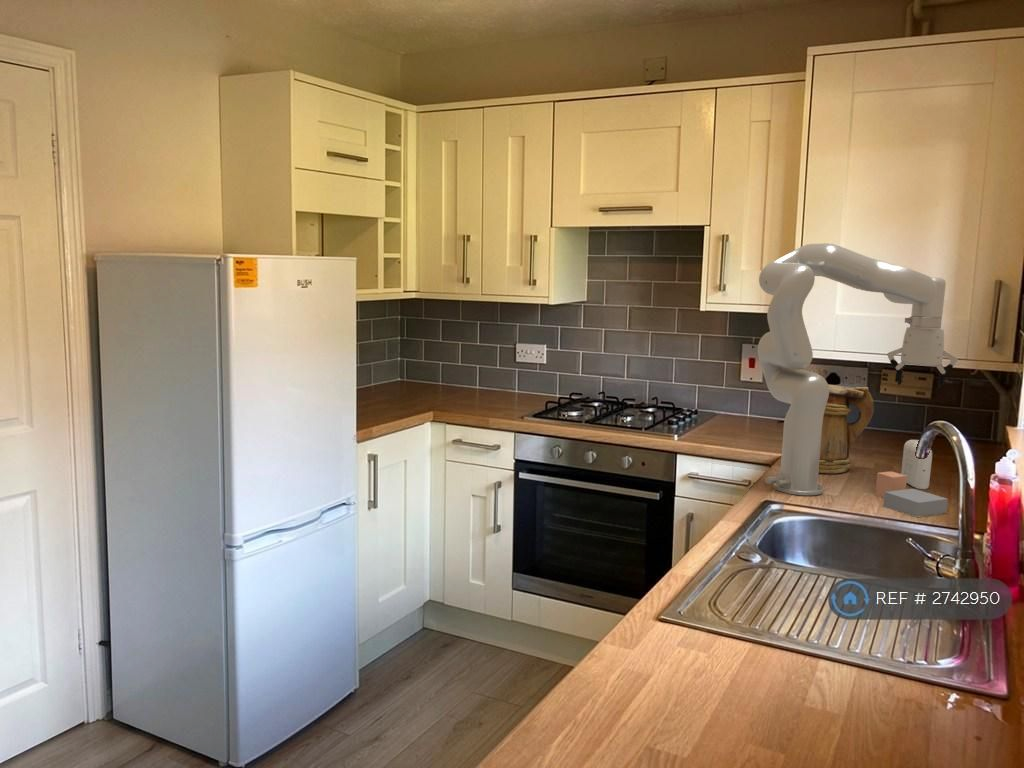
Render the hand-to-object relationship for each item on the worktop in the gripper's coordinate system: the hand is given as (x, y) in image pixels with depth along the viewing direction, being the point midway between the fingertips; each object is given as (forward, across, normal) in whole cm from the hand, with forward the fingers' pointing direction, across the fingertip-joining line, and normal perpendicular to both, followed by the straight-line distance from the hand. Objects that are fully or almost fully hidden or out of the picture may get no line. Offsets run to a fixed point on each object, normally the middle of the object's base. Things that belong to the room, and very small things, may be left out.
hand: (918, 386), depth 230 cm
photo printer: (+28, +2, 0) cm, 28 cm away
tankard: (+28, -23, +6) cm, 36 cm away
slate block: (+28, +4, -28) cm, 39 cm away
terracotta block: (+28, -3, -18) cm, 33 cm away
